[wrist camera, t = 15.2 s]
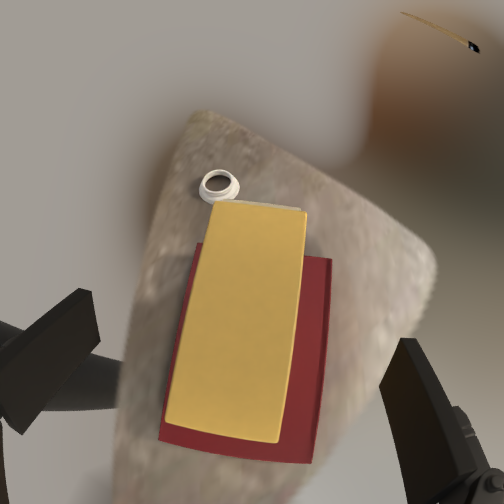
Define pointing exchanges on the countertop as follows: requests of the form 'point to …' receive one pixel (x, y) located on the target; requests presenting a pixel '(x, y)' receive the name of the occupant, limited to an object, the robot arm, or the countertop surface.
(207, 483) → the countertop surface
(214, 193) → the upside-down white bowl
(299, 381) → the big book
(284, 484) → the countertop surface
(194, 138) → the countertop surface
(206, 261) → the small book
